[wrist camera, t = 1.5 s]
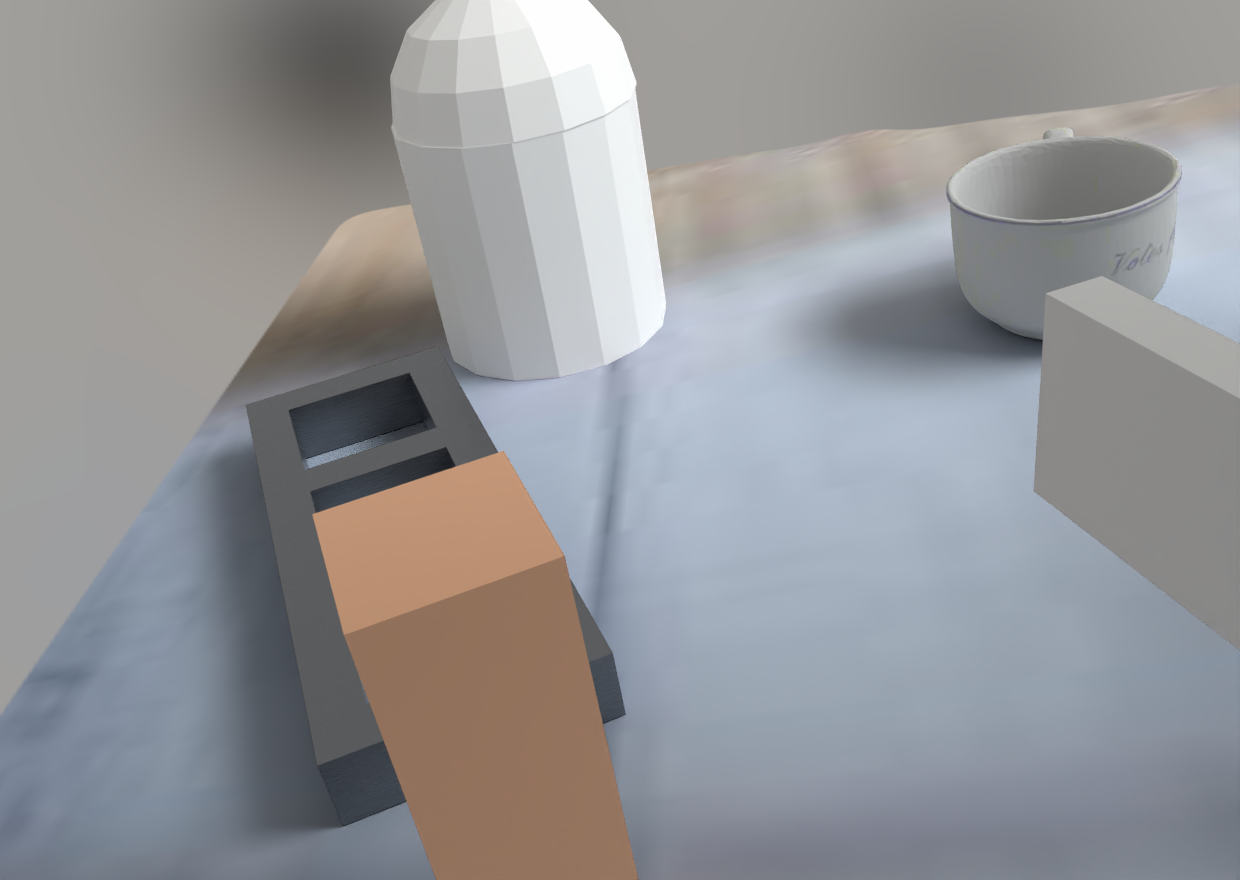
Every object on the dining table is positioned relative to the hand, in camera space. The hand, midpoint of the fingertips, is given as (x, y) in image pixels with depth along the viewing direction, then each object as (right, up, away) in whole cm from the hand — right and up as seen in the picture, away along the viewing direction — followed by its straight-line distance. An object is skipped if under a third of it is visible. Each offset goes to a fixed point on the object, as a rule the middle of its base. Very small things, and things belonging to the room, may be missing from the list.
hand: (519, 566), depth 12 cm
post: (-1, -14, +21) cm, 25 cm away
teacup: (+25, +9, +50) cm, 56 cm away
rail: (-8, -4, +39) cm, 40 cm away
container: (-3, +8, +57) cm, 57 cm away
